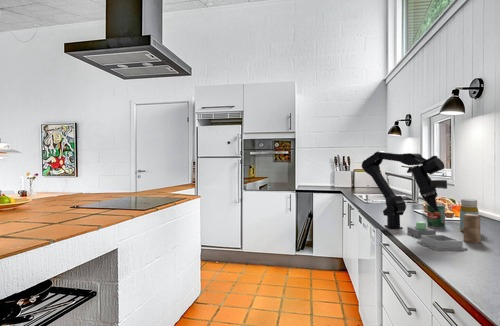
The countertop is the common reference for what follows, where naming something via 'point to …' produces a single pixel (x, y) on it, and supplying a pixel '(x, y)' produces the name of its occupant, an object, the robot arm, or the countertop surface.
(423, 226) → the button
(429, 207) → the canned tomato
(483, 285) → the countertop surface
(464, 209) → the bottle
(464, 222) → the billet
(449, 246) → the grey square socket
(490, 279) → the countertop surface
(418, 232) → the switch box
